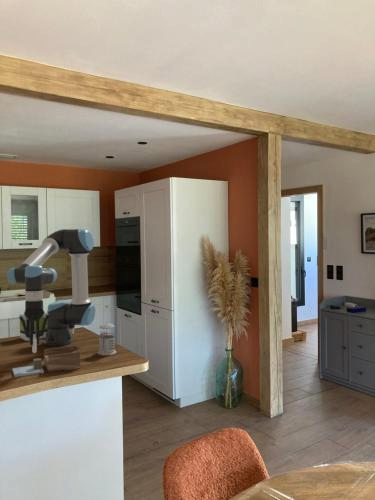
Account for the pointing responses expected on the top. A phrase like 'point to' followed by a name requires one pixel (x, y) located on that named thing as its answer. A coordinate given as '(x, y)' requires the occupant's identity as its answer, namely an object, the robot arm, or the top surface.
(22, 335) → the tea box
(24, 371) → the grey l-shaped block
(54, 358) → the lid box
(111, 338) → the french press
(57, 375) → the top surface
